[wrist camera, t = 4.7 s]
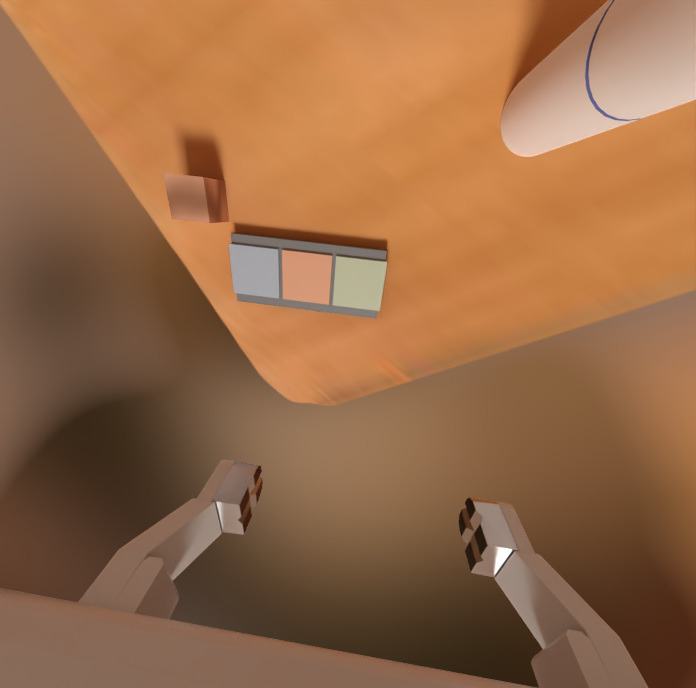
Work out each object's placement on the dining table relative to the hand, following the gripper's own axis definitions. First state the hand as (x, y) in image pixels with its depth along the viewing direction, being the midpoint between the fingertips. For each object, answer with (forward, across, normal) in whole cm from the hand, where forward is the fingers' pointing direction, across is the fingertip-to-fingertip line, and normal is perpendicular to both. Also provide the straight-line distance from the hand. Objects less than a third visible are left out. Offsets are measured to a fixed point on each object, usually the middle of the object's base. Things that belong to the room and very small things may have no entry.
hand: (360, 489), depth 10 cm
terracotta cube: (+29, +22, -9) cm, 38 cm away
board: (+29, +9, -1) cm, 30 cm away
